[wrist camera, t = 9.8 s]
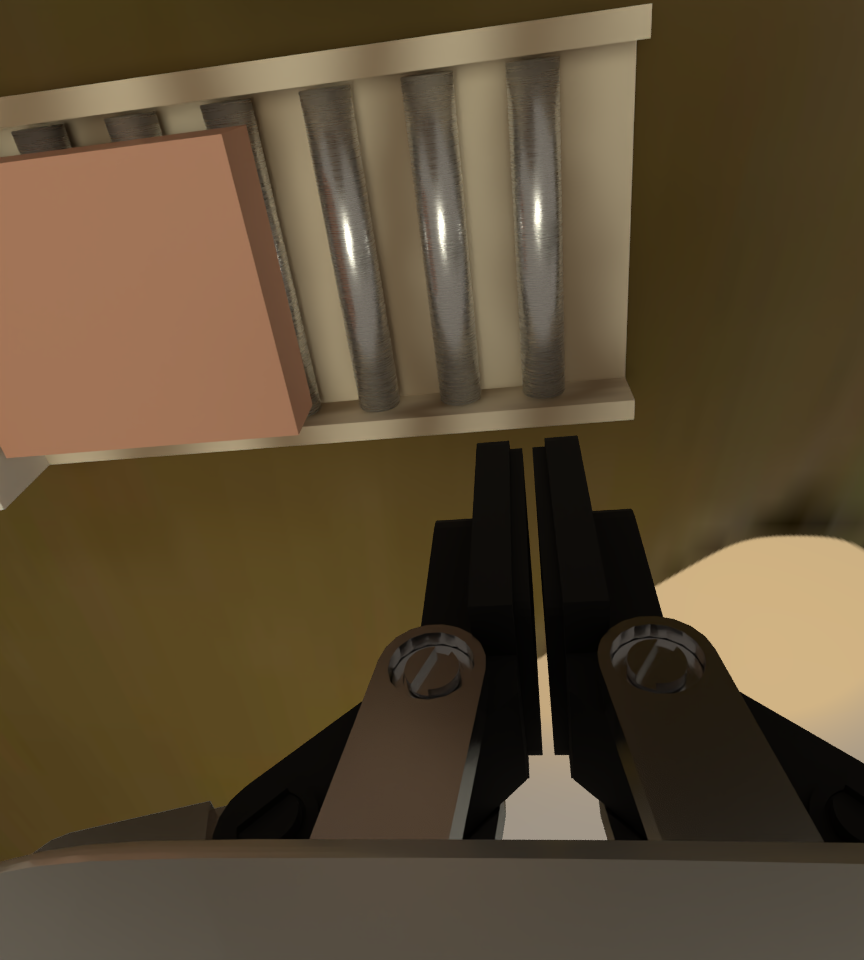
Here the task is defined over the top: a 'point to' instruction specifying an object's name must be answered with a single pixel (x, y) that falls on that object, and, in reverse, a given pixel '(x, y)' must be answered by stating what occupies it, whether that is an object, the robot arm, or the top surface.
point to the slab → (142, 299)
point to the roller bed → (390, 189)
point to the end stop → (18, 475)
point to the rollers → (438, 219)
